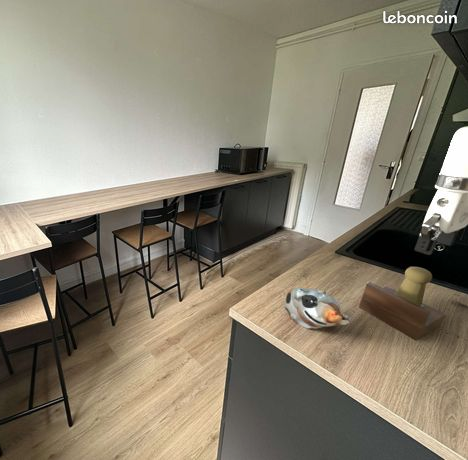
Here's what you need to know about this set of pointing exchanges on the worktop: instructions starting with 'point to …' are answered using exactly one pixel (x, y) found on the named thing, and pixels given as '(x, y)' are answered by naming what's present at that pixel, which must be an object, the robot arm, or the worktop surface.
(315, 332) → the worktop surface
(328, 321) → the snowman head
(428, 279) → the cork
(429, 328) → the brown wooden box
